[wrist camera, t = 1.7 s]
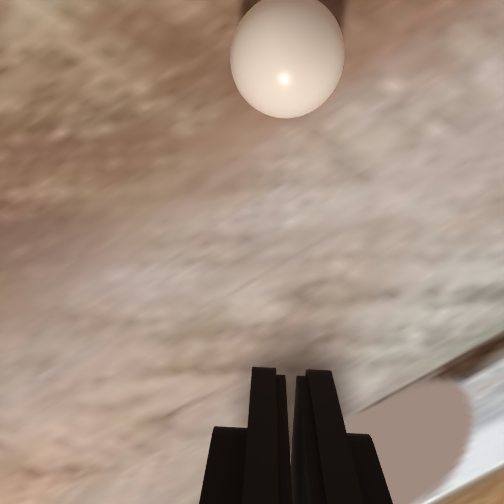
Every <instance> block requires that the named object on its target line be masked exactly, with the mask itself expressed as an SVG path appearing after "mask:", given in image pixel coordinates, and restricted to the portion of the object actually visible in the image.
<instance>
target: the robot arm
mask: <svg viewBox="0 0 504 504" xmlns="http://www.w3.org/2000/svg"><path fill="white" fill-rule="evenodd" d="M199 504H393V503H392V499H391V496H390V493H389V490H388V487H387V484H386V481H385V478H384V475H383V471H382V468H381V465H380V462H379V459H378V456H377V453H376V450H375V447H374V443H373V441H372V438H371V437H370V435H369V434H354V433H346V429H345V425H344V421H343V416H342V412H341V408H340V404H339V400H338V396H337V392H336V388H335V384H334V380H333V376H332V372H331V371H329V370H306V374H305V376H297V378H296V392H295V408H294V423H293V438H292V454H291V464H290V447H289V429H288V412H287V395H286V378H285V375H276V368H263V367H252V377H251V390H250V403H249V416H248V428H236V427H216V426H214V429H213V433H212V438H211V443H210V448H209V454H208V459H207V464H206V470H205V475H204V480H203V486H202V491H201V496H200V502H199Z"/></svg>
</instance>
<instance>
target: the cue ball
mask: <svg viewBox="0 0 504 504" xmlns="http://www.w3.org/2000/svg"><path fill="white" fill-rule="evenodd" d="M344 61H345V46H344V40H343V35H342V32H341V29H340V26H339V24H338V22H337V20H336V19H335V17H334V16H333V14H332V13H331V12H330V11H329V9H328V8H327V7H326V6H325V5H323V4H322V3H321V2H320V1H318V0H261V1H259V2H258V3H256V4H255V5H254V6H253V7H252V8H251V9H250V10H248V12H247V13H246V14H245V15H244V16H243V18H242V19H241V21H240V23H239V24H238V26H237V28H236V30H235V33H234V36H233V39H232V43H231V50H230V65H231V71H232V75H233V78H234V81H235V84H236V86H237V88H238V90H239V91H240V93H241V95H242V96H243V97H244V99H245V100H246V101H247V102H248V103H249V104H250V105H251V106H253V107H254V108H255V109H257V110H258V111H260V112H262V113H264V114H266V115H269V116H273V117H277V118H294V117H299V116H302V115H305V114H307V113H309V112H312V111H313V110H315V109H316V108H318V107H319V106H320V105H322V104H323V103H324V102H325V101H326V100H327V99H328V98H329V96H330V95H331V94H332V92H333V91H334V90H335V88H336V86H337V84H338V82H339V80H340V77H341V75H342V71H343V67H344Z"/></svg>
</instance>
